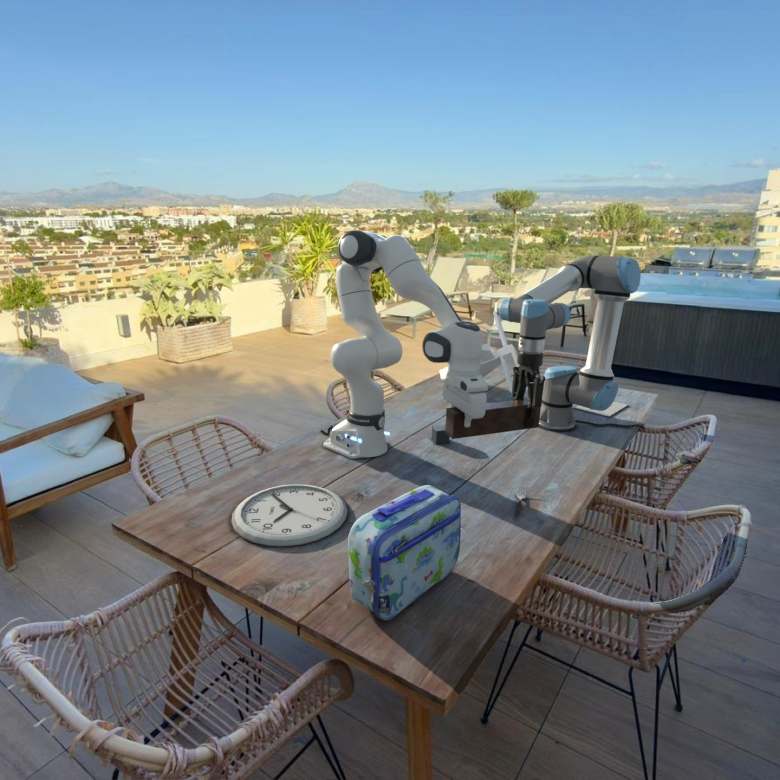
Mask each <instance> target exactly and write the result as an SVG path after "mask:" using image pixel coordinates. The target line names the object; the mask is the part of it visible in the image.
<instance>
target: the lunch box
mask: <svg viewBox="0 0 780 780" xmlns="http://www.w3.org/2000/svg"><path fill="white" fill-rule="evenodd" d="M461 520H462V506H461V500H460V498H459V497H458V496H457V495H454V494H450V495H449V494H448V493H445V492H444V491H442V490H440V489H438V488H436V487H435V486H432V485H430V484H425V485H420V486H418V487H416V488H415V489H412V490H410V491H408V492H406V493H404V494H402V495H400V496H398V497H396V498H394V499H392V500H390V501H388V502H386V503H384V504H382V505H380V506H378V507H377V508H375V509H372V510H371V511H368V512H367V513H365V514H362V515H361V516H359V517H357V519H356V520H355V521H354V523H353V524H352V526H351V528H350V530H349V533H348V536H347V537H348V538H347V557H348V559H347V560H348V586H349V592H350V597H351V599H352V600H353V601H355V602H356V603H358V604H360V605H362V606H364V607H365V608H366V609H368V610H369V611H371V612H372V613H374V615H375V616H376V617H377V618H379V619H380V620H383V621H390V620H393V619H394V618H395V617H397V616H398V615H399V614H400V613H401V612H402V611H403V610H405V609H406V608H407V607H408V606H409V605H411V604H412V603H414V602H415V601H416V600H417V599H419V598H420V597H421V596H422V595H424V594H425V593H426V592H427V591H429V589H431V588H432V587H433V586H435V585H436V584H438V583H439V582H440V581H442V580H444V579H445V578H446V577H448V575H450V573H451V572H452V571H453V570H454V568H455V566H456V564H457V562H458V559H459V555H460V552H461V551H460V549H461V535H462V534H461V533H462V521H461Z"/></svg>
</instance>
